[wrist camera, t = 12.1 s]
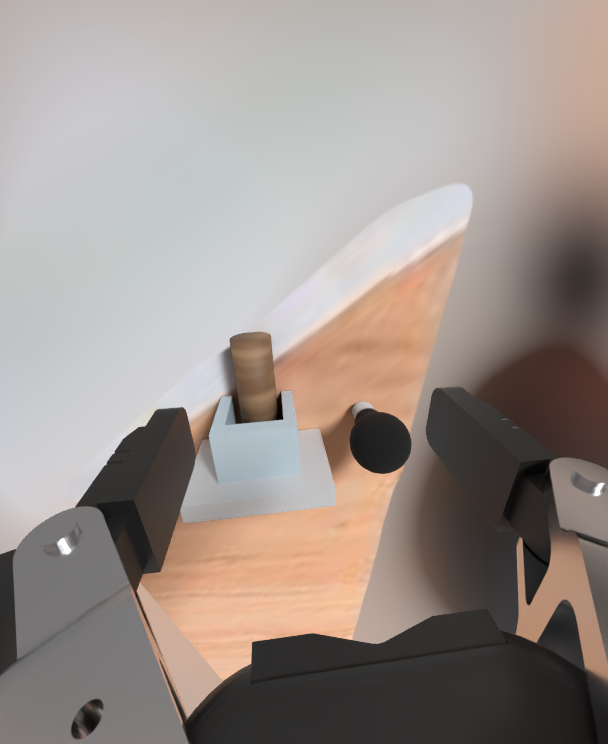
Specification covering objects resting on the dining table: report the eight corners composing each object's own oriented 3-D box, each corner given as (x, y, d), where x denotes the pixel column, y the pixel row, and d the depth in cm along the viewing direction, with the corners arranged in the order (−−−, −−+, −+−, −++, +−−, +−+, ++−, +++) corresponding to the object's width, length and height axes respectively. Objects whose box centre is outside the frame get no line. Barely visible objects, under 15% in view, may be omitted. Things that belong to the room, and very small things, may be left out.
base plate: (202, 439, 35) (178, 507, 26) (319, 428, 37) (335, 489, 27) (205, 453, 36) (183, 523, 27) (319, 441, 37) (336, 505, 28)
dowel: (230, 334, 31) (228, 345, 27) (269, 330, 32) (272, 341, 28) (243, 424, 35) (243, 444, 32) (277, 419, 36) (281, 439, 32)
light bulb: (342, 432, 37) (365, 494, 28) (331, 392, 35) (352, 445, 26) (387, 419, 37) (425, 476, 28) (379, 378, 35) (418, 426, 26)
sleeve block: (221, 396, 33) (208, 435, 27) (291, 390, 34) (297, 427, 27) (228, 437, 36) (218, 483, 29) (294, 431, 36) (300, 474, 29)
